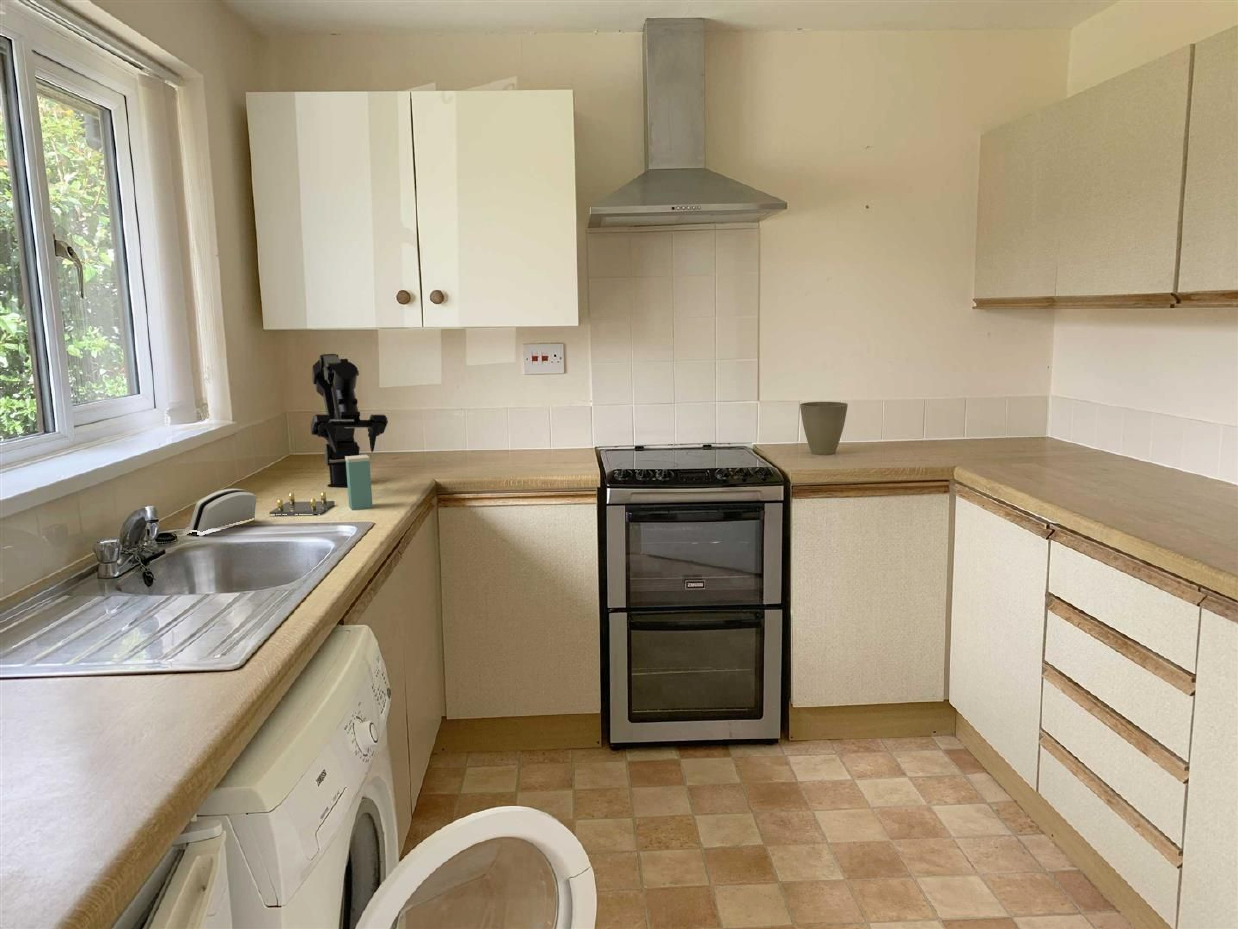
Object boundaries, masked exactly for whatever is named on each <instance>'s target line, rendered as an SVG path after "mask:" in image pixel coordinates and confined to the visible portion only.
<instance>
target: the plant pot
mask: <svg viewBox="0 0 1238 929" xmlns="http://www.w3.org/2000/svg"><path fill="white" fill-rule="evenodd" d="M848 406H849V405H848V403H847V402H841V401H809V402H801V403H800V404H799V407H800V408H799V410H800V414H801V421H802V426H803V430H804V433H805V437H806V441H807V444H808V447H809V449H810V453H811V454H813V455H819V456H828V455H834V454H836V451H837V449H838V446H839V443H840V441H841V438H842V434H843V430H844V427H845V423H846V418H847V411H848V410H847V409H848Z"/></svg>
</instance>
